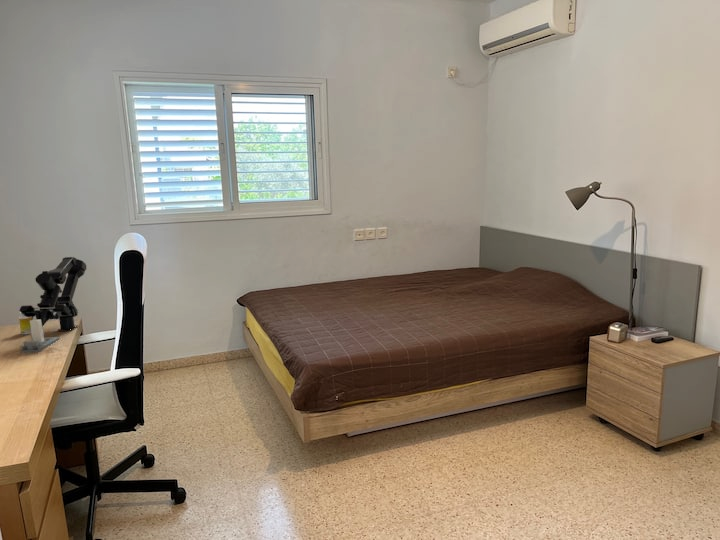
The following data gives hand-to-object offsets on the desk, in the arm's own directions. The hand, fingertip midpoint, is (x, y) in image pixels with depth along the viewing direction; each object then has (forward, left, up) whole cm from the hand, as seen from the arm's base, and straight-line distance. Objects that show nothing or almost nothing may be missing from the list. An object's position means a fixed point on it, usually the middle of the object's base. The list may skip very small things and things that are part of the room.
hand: (39, 328), depth 212 cm
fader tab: (+1, 0, -7) cm, 7 cm away
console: (0, 0, -8) cm, 8 cm away
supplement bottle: (-20, -18, -8) cm, 28 cm away
